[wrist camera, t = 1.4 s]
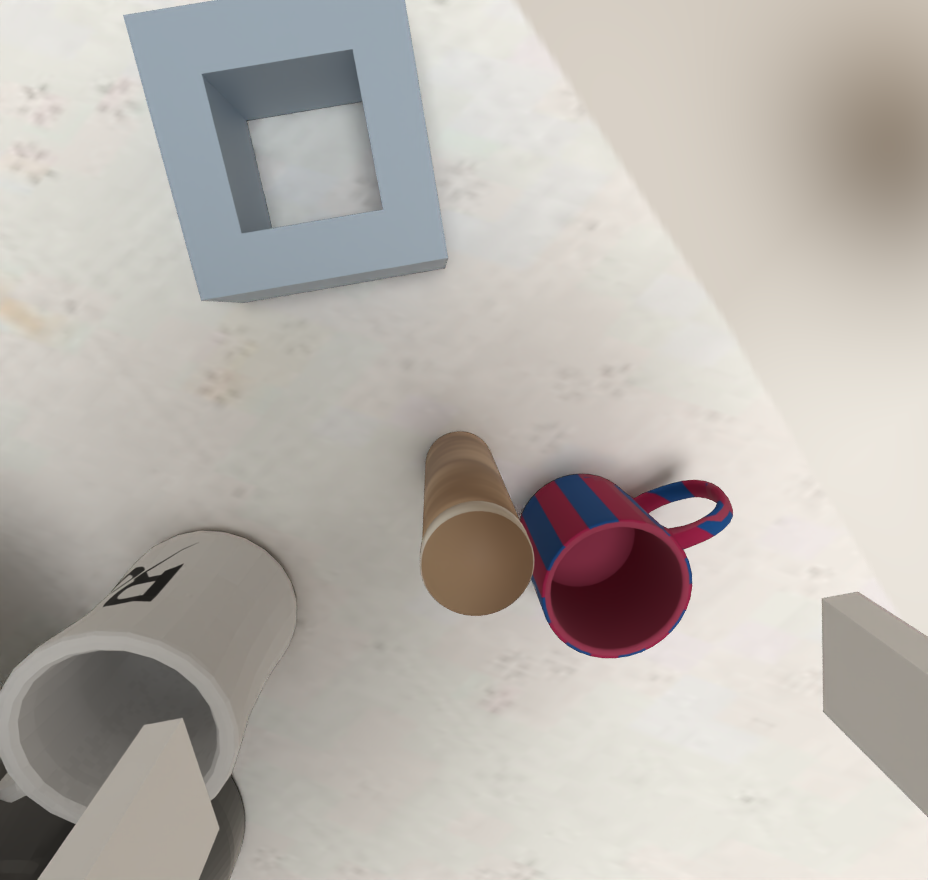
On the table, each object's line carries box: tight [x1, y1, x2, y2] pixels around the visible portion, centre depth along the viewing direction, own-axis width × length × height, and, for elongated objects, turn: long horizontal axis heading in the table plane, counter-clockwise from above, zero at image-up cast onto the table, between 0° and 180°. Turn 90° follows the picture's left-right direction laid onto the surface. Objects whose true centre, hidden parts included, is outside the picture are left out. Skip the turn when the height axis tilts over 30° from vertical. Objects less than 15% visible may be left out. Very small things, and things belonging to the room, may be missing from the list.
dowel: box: [420, 431, 534, 616], centre depth 23 cm, size 4×4×12 cm
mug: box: [0, 531, 297, 824], centre depth 25 cm, size 12×9×10 cm
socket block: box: [123, 0, 448, 303], centre depth 23 cm, size 10×10×5 cm
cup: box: [520, 474, 733, 658], centre depth 27 cm, size 7×10×7 cm
